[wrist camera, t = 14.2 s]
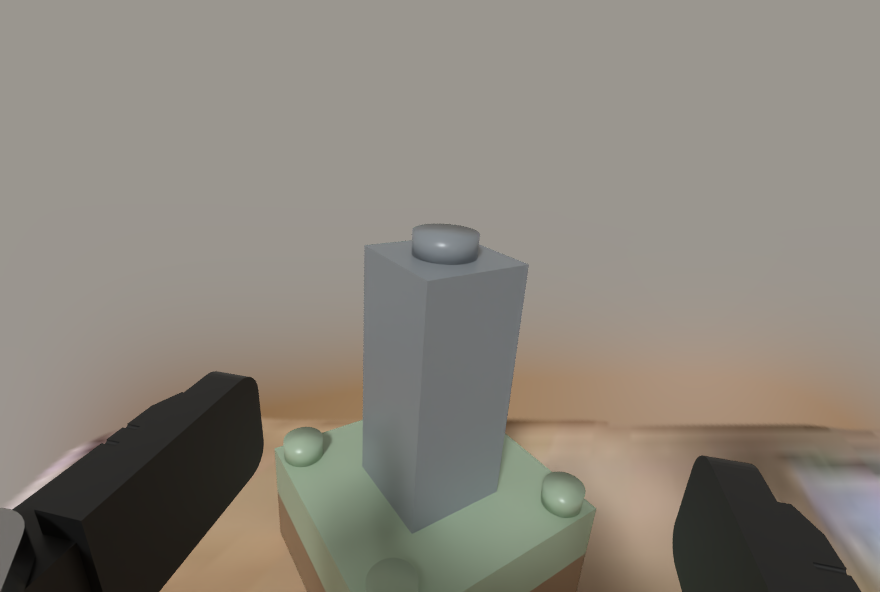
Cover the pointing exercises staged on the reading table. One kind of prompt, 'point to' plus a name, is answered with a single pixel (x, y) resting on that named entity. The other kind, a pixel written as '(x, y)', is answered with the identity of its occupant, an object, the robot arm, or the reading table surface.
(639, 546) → the reading table surface
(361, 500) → the tower base
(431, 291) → the tall brick
